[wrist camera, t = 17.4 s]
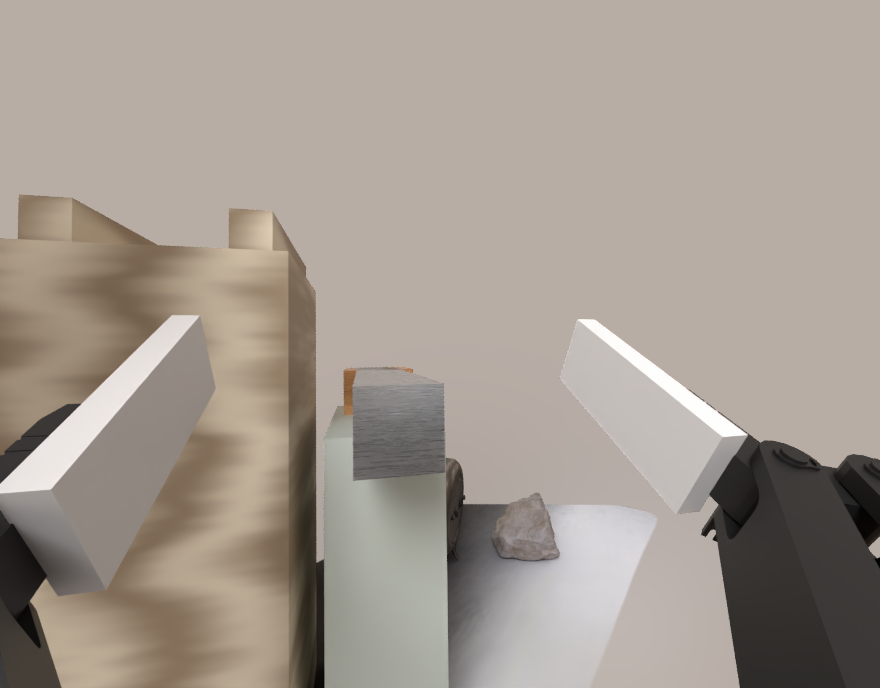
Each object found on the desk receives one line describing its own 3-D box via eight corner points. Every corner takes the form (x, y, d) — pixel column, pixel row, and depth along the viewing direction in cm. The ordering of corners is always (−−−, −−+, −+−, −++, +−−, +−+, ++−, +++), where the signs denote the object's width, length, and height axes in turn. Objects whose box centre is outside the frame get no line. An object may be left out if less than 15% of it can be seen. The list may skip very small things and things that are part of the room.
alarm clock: (431, 534, 51) (429, 415, 52) (470, 538, 50) (468, 417, 50) (404, 581, 40) (402, 431, 41) (452, 588, 39) (450, 433, 40)
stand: (-20, 955, 15) (-2, 193, 16) (144, 696, 27) (148, 261, 28) (288, 867, 18) (288, 211, 19) (316, 664, 30) (315, 267, 31)
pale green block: (325, 808, 20) (323, 439, 21) (338, 626, 34) (337, 406, 34) (449, 776, 22) (445, 432, 22) (414, 613, 35) (412, 403, 36)
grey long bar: (325, 483, 14) (324, 387, 14) (346, 405, 35) (346, 368, 35) (469, 471, 15) (468, 382, 15) (404, 402, 36) (404, 367, 36)
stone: (503, 525, 54) (502, 485, 54) (562, 534, 51) (561, 491, 51) (487, 561, 44) (487, 512, 45) (558, 574, 42) (557, 522, 42)
